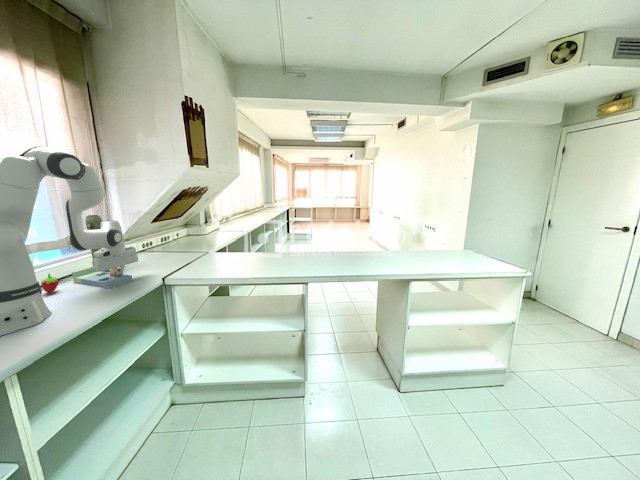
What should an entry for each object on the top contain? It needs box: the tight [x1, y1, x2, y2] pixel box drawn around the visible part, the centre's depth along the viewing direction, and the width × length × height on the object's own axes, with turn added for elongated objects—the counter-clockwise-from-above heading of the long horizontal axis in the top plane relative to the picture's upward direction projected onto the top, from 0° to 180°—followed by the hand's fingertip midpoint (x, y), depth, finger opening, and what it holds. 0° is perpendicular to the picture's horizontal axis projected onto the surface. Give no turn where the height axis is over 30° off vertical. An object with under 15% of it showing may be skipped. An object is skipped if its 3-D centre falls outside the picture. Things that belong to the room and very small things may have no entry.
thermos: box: [84, 214, 103, 267], centre depth 156 cm, size 9×12×35 cm
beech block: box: [109, 267, 124, 277], centre depth 140 cm, size 4×4×4 cm
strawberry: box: [40, 273, 60, 294], centre depth 125 cm, size 6×7×10 cm
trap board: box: [71, 266, 134, 289], centre depth 140 cm, size 12×28×6 cm, turn 71°
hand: (119, 274), depth 140 cm, fingers closed, pressing on beech block
